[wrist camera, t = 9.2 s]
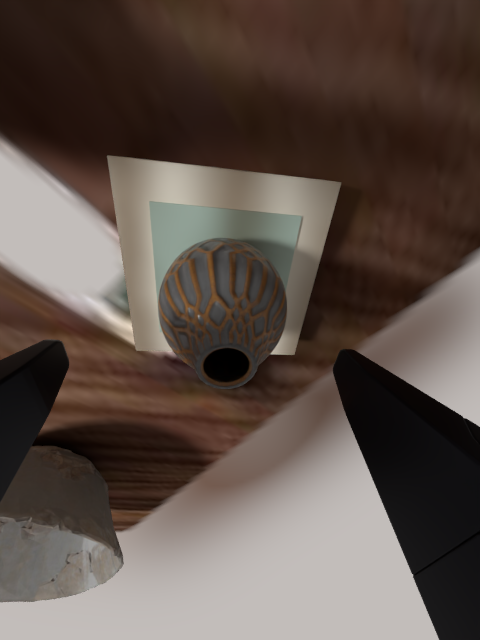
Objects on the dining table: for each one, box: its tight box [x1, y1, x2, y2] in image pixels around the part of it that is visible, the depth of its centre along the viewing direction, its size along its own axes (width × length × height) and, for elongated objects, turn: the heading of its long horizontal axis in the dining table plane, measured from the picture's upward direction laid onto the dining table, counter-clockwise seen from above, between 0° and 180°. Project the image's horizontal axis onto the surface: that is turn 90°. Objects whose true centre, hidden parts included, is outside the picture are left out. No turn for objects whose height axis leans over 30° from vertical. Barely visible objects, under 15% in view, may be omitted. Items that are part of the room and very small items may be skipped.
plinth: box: [107, 155, 341, 355], centre depth 18 cm, size 13×13×3 cm
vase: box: [158, 238, 287, 389], centre depth 13 cm, size 7×7×9 cm
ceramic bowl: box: [0, 446, 123, 602], centre depth 28 cm, size 22×23×10 cm
